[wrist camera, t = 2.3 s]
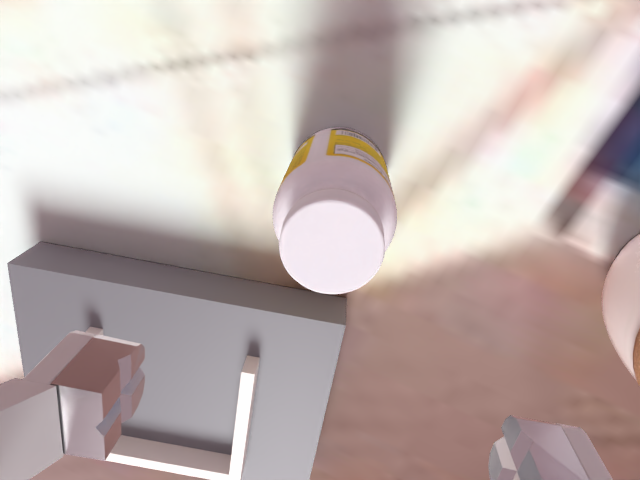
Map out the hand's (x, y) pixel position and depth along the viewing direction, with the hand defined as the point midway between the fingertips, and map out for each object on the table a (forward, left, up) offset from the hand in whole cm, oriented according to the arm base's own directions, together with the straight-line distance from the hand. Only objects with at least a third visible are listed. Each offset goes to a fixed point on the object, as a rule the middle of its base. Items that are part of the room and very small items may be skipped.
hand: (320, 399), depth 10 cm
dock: (-8, -15, -17) cm, 24 cm away
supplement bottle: (0, 0, -17) cm, 17 cm away
